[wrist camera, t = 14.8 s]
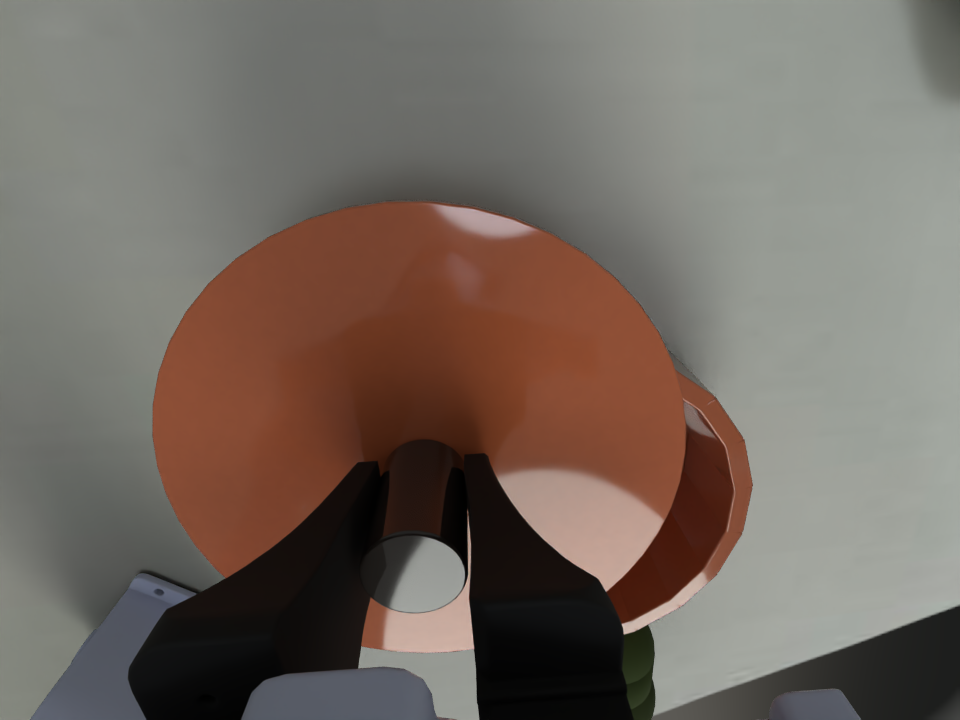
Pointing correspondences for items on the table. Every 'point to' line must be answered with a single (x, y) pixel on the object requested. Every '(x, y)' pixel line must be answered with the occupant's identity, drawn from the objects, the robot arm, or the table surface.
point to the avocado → (639, 672)
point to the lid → (419, 402)
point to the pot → (691, 514)
